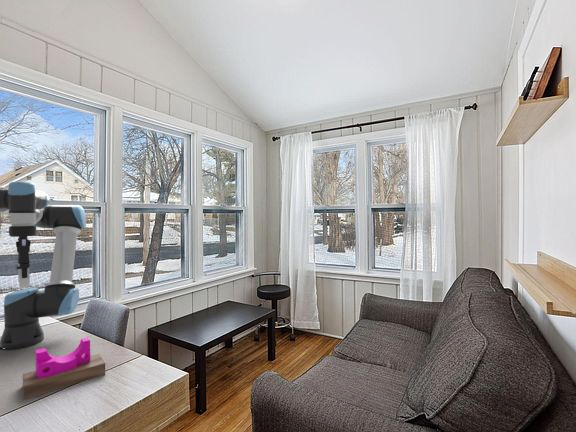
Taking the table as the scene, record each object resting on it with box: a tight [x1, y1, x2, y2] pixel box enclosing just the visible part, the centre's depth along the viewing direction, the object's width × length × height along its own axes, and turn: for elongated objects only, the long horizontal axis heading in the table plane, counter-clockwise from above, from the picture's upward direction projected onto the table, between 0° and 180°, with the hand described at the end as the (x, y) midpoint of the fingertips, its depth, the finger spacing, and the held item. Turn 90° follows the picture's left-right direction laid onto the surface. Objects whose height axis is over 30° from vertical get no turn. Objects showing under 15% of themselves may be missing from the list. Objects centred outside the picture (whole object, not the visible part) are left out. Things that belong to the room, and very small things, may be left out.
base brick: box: [22, 353, 106, 400], centre depth 107 cm, size 10×22×4 cm, turn 132°
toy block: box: [34, 337, 91, 379], centre depth 108 cm, size 15×6×8 cm, turn 135°
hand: (23, 284), depth 113 cm, fingers open, 13 cm apart
